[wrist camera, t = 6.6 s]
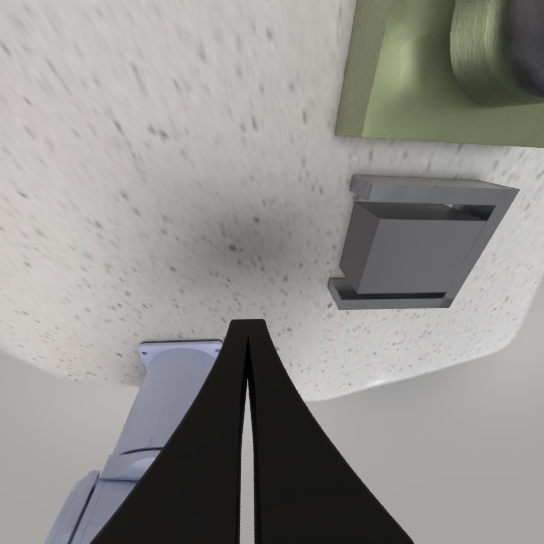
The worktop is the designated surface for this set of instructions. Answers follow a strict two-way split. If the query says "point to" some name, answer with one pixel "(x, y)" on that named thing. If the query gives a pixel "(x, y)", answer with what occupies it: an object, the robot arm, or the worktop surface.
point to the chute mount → (442, 106)
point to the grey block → (406, 246)
